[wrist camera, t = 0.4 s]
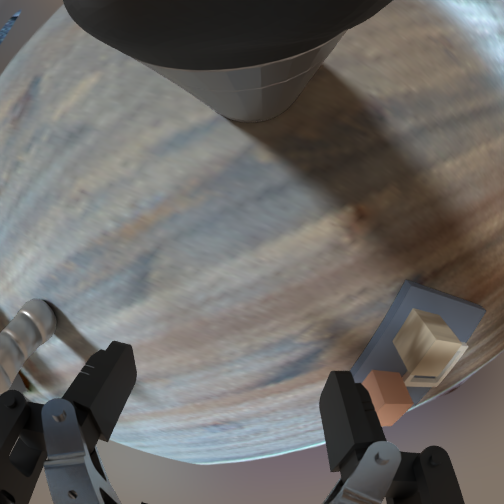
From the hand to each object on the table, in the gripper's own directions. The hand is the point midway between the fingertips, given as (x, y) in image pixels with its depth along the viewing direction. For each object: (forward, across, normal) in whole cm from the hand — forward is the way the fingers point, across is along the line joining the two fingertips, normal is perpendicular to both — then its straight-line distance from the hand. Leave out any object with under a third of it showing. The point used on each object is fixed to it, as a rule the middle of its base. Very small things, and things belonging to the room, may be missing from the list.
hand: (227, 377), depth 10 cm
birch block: (+16, -22, +8) cm, 28 cm away
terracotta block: (+17, -20, +18) cm, 31 cm away
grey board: (+18, -25, +13) cm, 33 cm away
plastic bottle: (+18, +29, +15) cm, 38 cm away
